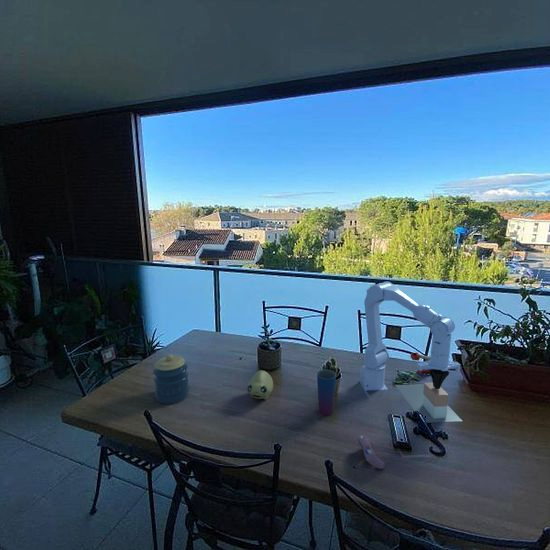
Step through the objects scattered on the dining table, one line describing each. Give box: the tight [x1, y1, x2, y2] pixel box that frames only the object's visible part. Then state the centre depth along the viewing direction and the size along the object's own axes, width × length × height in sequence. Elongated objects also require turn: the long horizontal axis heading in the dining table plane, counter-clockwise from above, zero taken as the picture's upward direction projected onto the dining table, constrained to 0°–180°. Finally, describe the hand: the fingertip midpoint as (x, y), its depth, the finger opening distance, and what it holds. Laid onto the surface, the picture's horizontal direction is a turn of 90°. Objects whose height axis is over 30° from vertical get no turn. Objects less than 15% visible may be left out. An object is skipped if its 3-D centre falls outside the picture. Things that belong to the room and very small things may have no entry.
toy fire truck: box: [410, 351, 431, 376], centre depth 144 cm, size 3×14×10 cm, turn 84°
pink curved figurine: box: [356, 434, 386, 470], centre depth 96 cm, size 10×5×7 cm, turn 5°
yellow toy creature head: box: [247, 369, 274, 401], centre depth 127 cm, size 10×12×11 cm
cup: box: [316, 369, 337, 417], centre depth 117 cm, size 7×7×15 cm
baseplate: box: [394, 383, 463, 424], centre depth 124 cm, size 14×24×1 cm, turn 3°
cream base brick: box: [422, 394, 447, 418], centre depth 117 cm, size 4×8×4 cm, turn 3°
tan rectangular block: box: [423, 381, 449, 407], centre depth 116 cm, size 4×8×4 cm, turn 2°
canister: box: [152, 353, 190, 405], centre depth 128 cm, size 13×13×18 cm
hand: (436, 387), depth 116 cm, fingers closed
